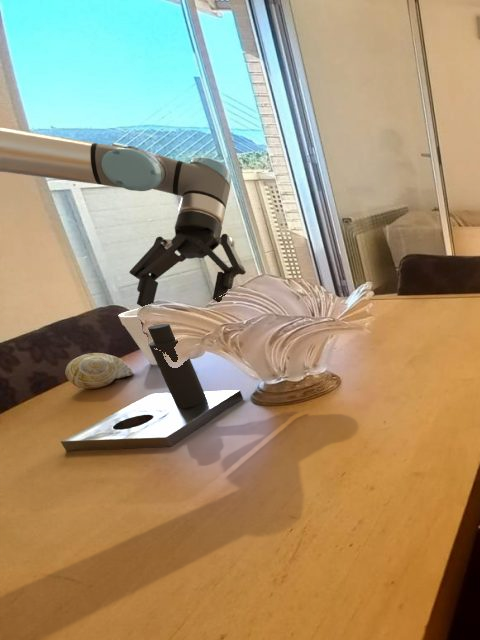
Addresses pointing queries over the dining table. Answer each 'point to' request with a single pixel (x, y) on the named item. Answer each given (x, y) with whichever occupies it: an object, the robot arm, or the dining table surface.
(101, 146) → the robot arm
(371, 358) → the dining table surface
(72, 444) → the plate
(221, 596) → the dining table surface
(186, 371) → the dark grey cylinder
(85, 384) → the seashell
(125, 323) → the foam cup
